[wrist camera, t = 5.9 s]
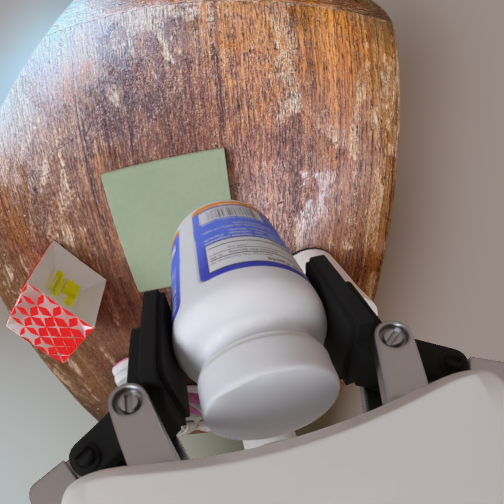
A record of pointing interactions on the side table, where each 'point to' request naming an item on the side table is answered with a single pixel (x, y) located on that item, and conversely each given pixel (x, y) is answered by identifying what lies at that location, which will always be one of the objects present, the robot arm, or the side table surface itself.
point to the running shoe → (194, 403)
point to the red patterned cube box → (58, 303)
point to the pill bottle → (247, 325)
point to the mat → (161, 207)
